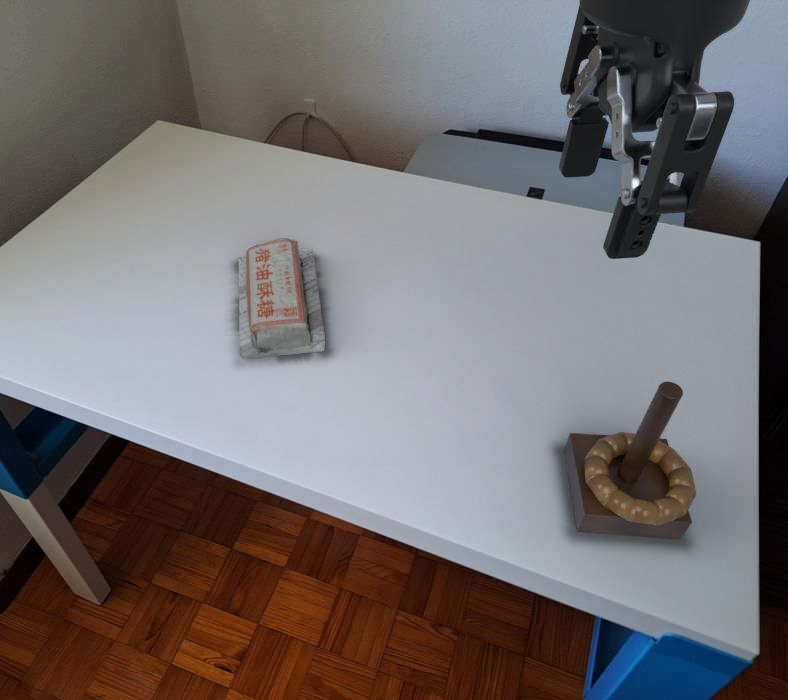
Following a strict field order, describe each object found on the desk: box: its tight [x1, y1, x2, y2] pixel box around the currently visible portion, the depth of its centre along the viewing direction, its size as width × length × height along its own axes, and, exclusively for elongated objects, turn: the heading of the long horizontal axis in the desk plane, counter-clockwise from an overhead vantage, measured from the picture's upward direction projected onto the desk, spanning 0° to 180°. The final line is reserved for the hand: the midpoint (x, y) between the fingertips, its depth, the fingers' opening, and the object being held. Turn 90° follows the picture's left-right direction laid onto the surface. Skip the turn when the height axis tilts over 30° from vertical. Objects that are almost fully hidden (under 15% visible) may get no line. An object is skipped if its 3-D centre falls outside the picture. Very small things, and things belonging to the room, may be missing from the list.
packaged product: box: [238, 237, 326, 359], centre depth 83 cm, size 18×5×10 cm
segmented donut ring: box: [584, 431, 697, 525], centre depth 61 cm, size 9×9×2 cm
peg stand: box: [563, 381, 693, 540], centre depth 59 cm, size 9×9×15 cm
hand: (597, 211), depth 42 cm, fingers open, 8 cm apart
